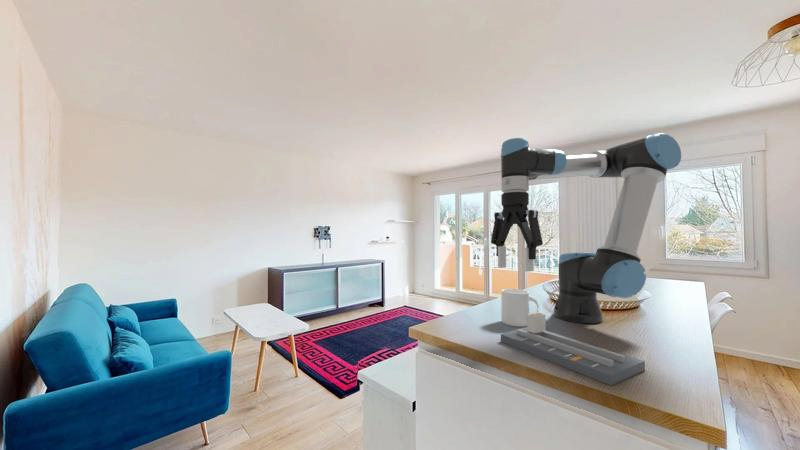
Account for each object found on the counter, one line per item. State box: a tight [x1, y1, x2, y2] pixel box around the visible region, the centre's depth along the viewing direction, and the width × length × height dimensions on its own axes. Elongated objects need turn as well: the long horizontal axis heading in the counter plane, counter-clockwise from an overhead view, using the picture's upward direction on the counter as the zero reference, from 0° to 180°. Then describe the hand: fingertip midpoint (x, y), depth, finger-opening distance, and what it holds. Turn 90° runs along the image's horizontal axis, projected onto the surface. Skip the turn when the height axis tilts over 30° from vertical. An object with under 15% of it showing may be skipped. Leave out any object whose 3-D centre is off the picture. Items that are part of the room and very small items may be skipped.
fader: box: [526, 312, 546, 336], centre depth 83 cm, size 4×2×6 cm, turn 119°
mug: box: [500, 288, 539, 328], centre depth 102 cm, size 9×12×11 cm
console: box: [500, 327, 646, 386], centre depth 76 cm, size 14×28×3 cm, turn 29°
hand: (515, 269), depth 90 cm, fingers open, 9 cm apart
